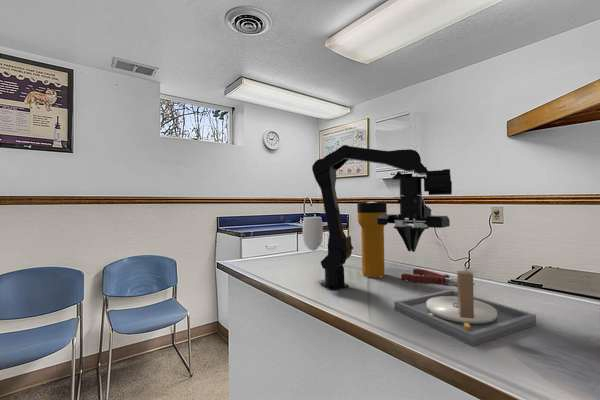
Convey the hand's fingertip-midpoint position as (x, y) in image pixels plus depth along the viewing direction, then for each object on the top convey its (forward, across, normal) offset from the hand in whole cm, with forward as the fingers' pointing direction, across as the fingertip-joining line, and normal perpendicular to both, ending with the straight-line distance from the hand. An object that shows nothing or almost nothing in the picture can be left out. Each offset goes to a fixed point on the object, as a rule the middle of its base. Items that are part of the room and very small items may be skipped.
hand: (411, 251), depth 83 cm
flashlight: (+12, +20, -11) cm, 25 cm away
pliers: (+13, +1, -16) cm, 20 cm away
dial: (+11, -15, +8) cm, 20 cm away
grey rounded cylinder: (+12, +34, +5) cm, 37 cm away
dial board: (+12, -15, +8) cm, 21 cm away
